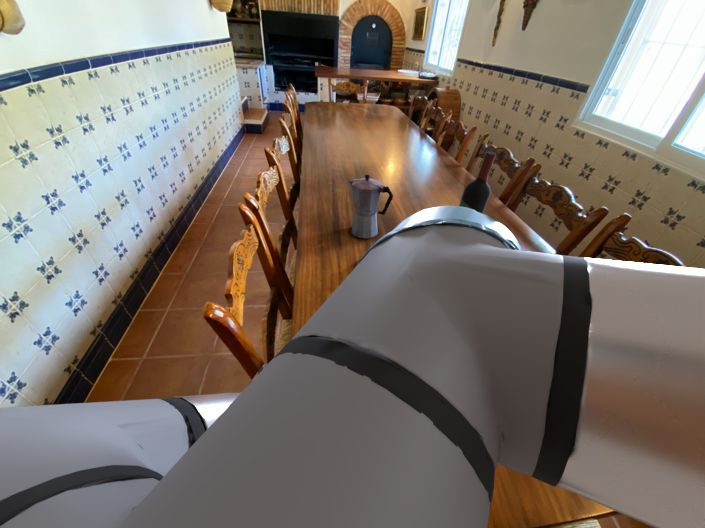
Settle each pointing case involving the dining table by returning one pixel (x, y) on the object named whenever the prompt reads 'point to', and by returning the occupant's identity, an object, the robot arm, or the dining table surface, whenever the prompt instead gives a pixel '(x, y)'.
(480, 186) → the wine bottle
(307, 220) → the dining table surface
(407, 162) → the dining table surface
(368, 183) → the moka pot
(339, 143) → the dining table surface
